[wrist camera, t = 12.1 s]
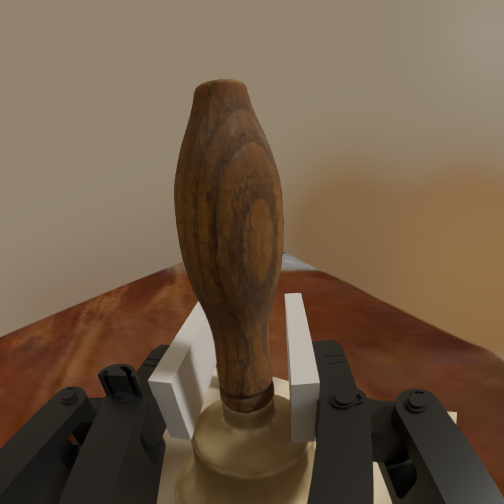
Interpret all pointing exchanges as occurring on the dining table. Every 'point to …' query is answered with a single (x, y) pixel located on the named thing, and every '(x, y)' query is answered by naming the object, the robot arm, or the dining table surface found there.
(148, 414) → the robot arm
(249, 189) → the hand bell
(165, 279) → the dining table surface
